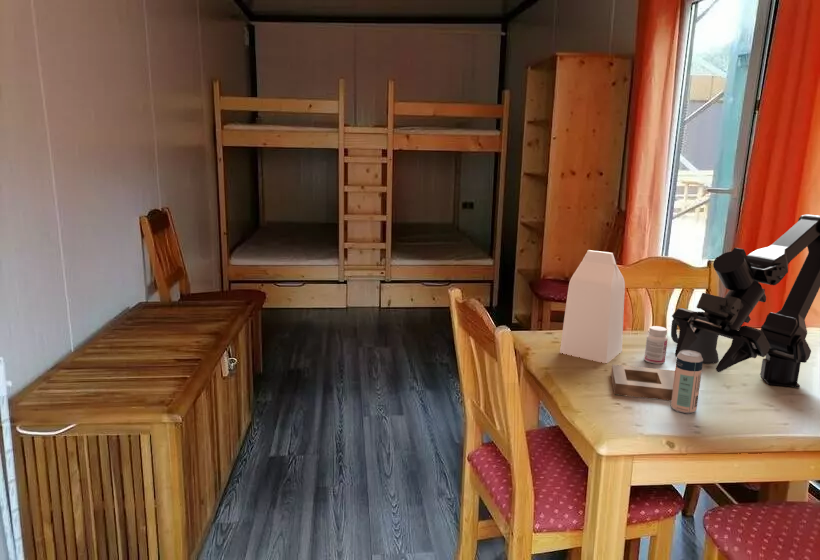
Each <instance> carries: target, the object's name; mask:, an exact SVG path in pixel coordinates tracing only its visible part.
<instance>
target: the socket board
mask: <svg viewBox="0 0 820 560" xmlns="http://www.w3.org/2000/svg"><path fill="white" fill-rule="evenodd" d="M610 371H611V372H610V376H611V382H612V383H611V384H612V387H613V394H614V395H615V394H619V395H618V396H624V395H627V396H626V397H633V396H634V397H635V398H643V399H652V400H661V401H669V402H671V400H672V392H673V384H674V376H675V370H673V369H672V370H670V369H662V368H653V367H652V368H651V367H641V366H633V365H622V364H611V370H610Z"/></svg>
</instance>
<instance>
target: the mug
mask: <svg viewBox="0 0 820 560" xmlns="http://www.w3.org/2000/svg"><path fill="white" fill-rule="evenodd" d="M695 312H696V313H697V315H698V317H699V318H700V320H703V321H708V318H706V317H705V316H704V313H705V311H695ZM677 331H678V325H677V323H676V322H675V320H674V319H673V318H672V320H671V328H670V336H671V340H672V342H674V343H676V344H677V343H678V339H679V336H678V332H677ZM696 336H697V339H696V340H695V342H694V343H693V344H692V345H691V346H690V347H689V348H688V349H687V350H692V351H696V352H699V353H700V354H701V356H702V358H703V365H705V364H707V365H713V364H717V363H719V362H720V361H719V359H720V358H719V354H718V349H717V345H718V339H719V336H720V335H717V334H714V333H710V332H707V331H704V330H702V331H701V332H700V334H697V335H696Z"/></svg>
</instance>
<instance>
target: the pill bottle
mask: <svg viewBox="0 0 820 560" xmlns="http://www.w3.org/2000/svg"><path fill="white" fill-rule="evenodd" d="M667 334H668V329H667V328H666V327H664V326H659V325H652V326H649V330H648V334H647V336H646V341H645V350H644V358H643V359H644V360H645V362H647V363H650V364H656V365H662V364H665V362H666V356H667V355H666V354H667V347H668V336H667Z"/></svg>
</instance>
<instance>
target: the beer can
mask: <svg viewBox="0 0 820 560" xmlns="http://www.w3.org/2000/svg"><path fill="white" fill-rule="evenodd" d="M703 365H704V364H703V358H702V356H701V354H700V353H699V352H696V351H692V350H682V351H680V352H679V353H678V355H677V357H676V359H675V369H674V371H675V376H674V384H673V392H672V400H671V401H670V407H671V408H672V409H673V410H675V411H676V412H678V413H682V414H692V413H694V412H697V409H698V403H699V402H698V401H699V395H700V386H701V378H702V372H703Z"/></svg>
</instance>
